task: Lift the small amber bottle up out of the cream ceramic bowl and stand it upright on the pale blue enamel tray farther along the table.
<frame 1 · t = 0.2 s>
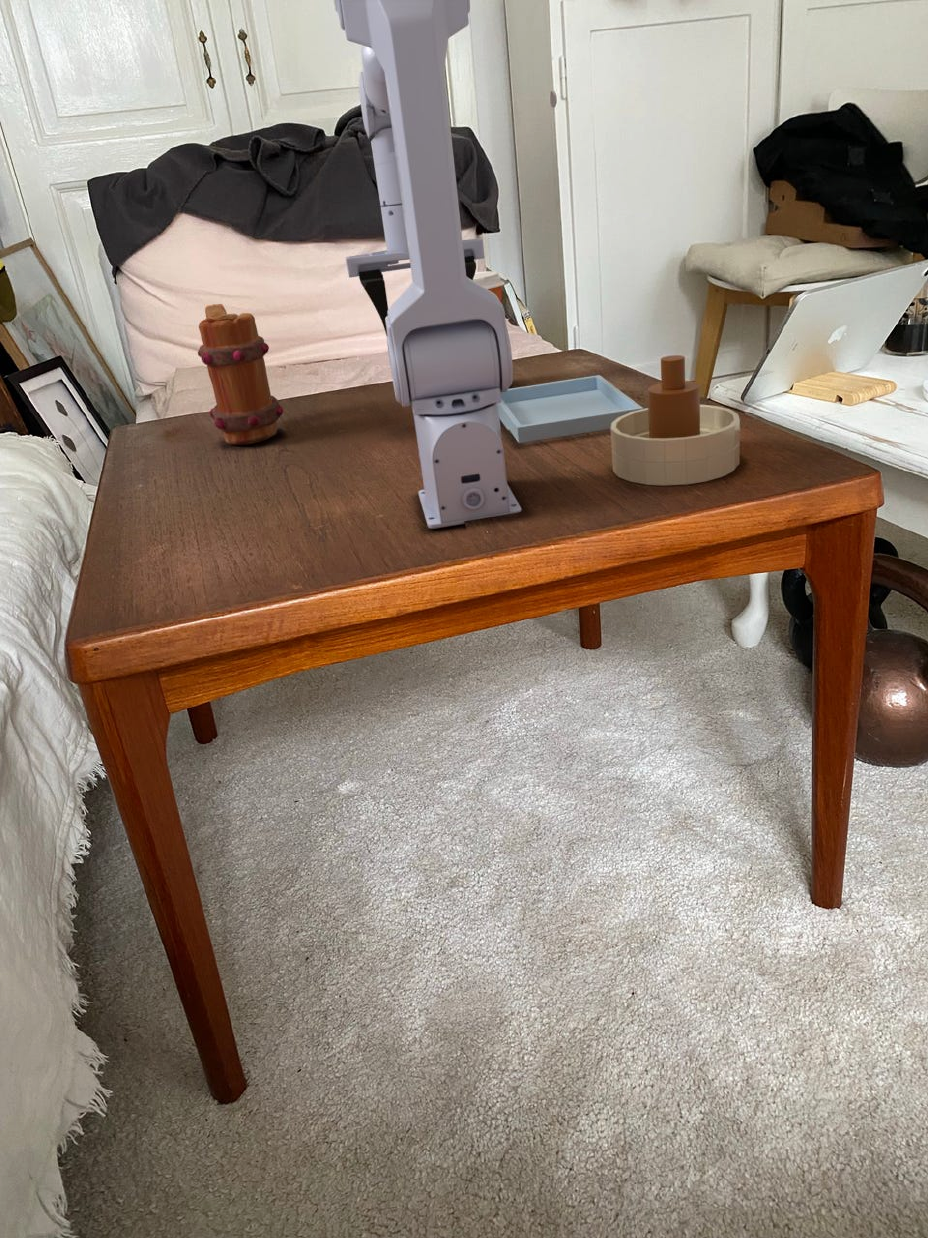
hand: (425, 336, 104), 10 cm above the table, tool pointing down, fingers open, 7 cm apart
tray: (563, 417, 106), on the table
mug: (249, 436, 116), on the table
paper cup: (484, 391, 122), on the table
bottle: (675, 464, 85), resting on bowl
bowl: (675, 470, 85), on the table
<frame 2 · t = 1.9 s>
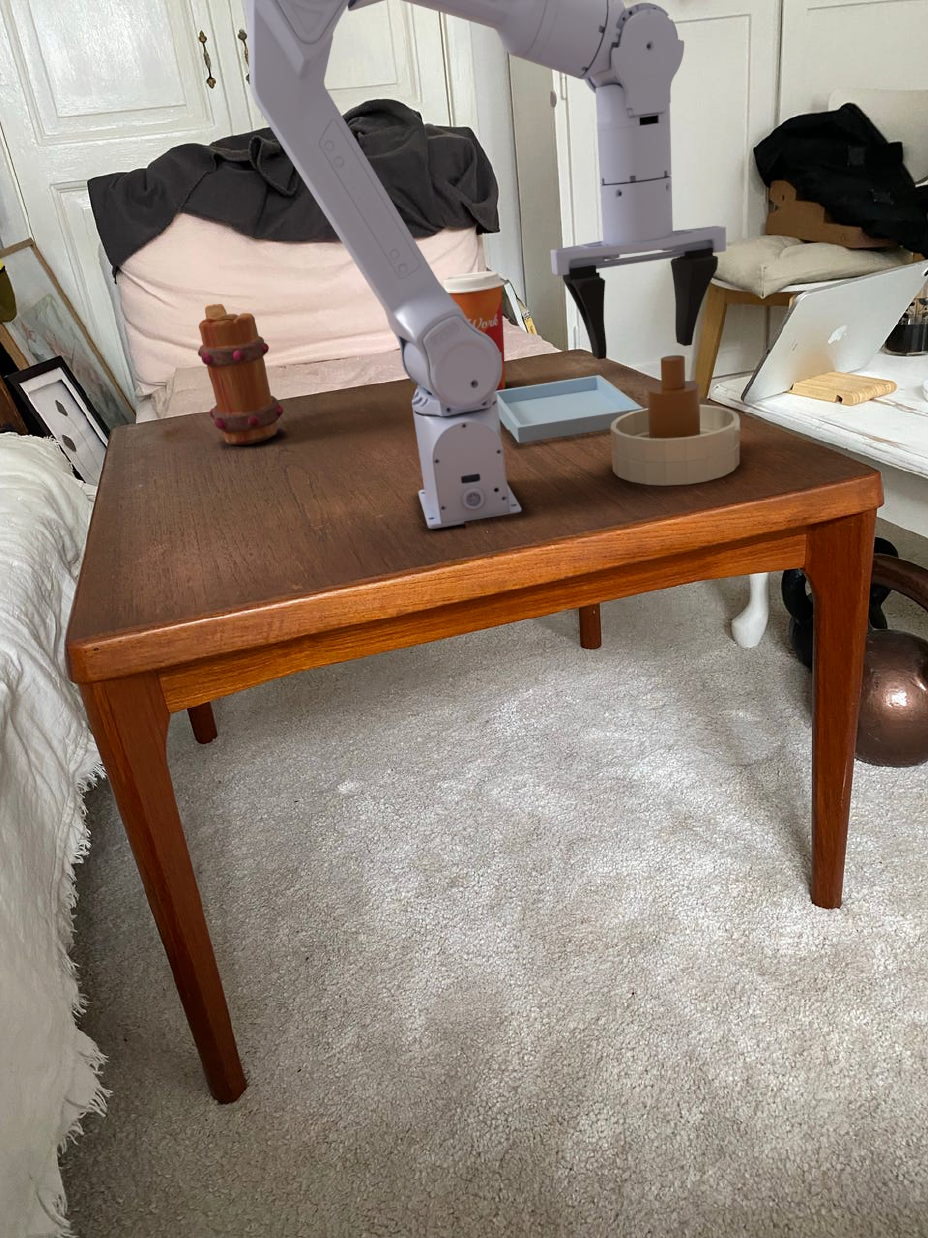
hand: (642, 350, 83), 10 cm above the table, tool pointing down, fingers open, 7 cm apart
nothing on the table moved.
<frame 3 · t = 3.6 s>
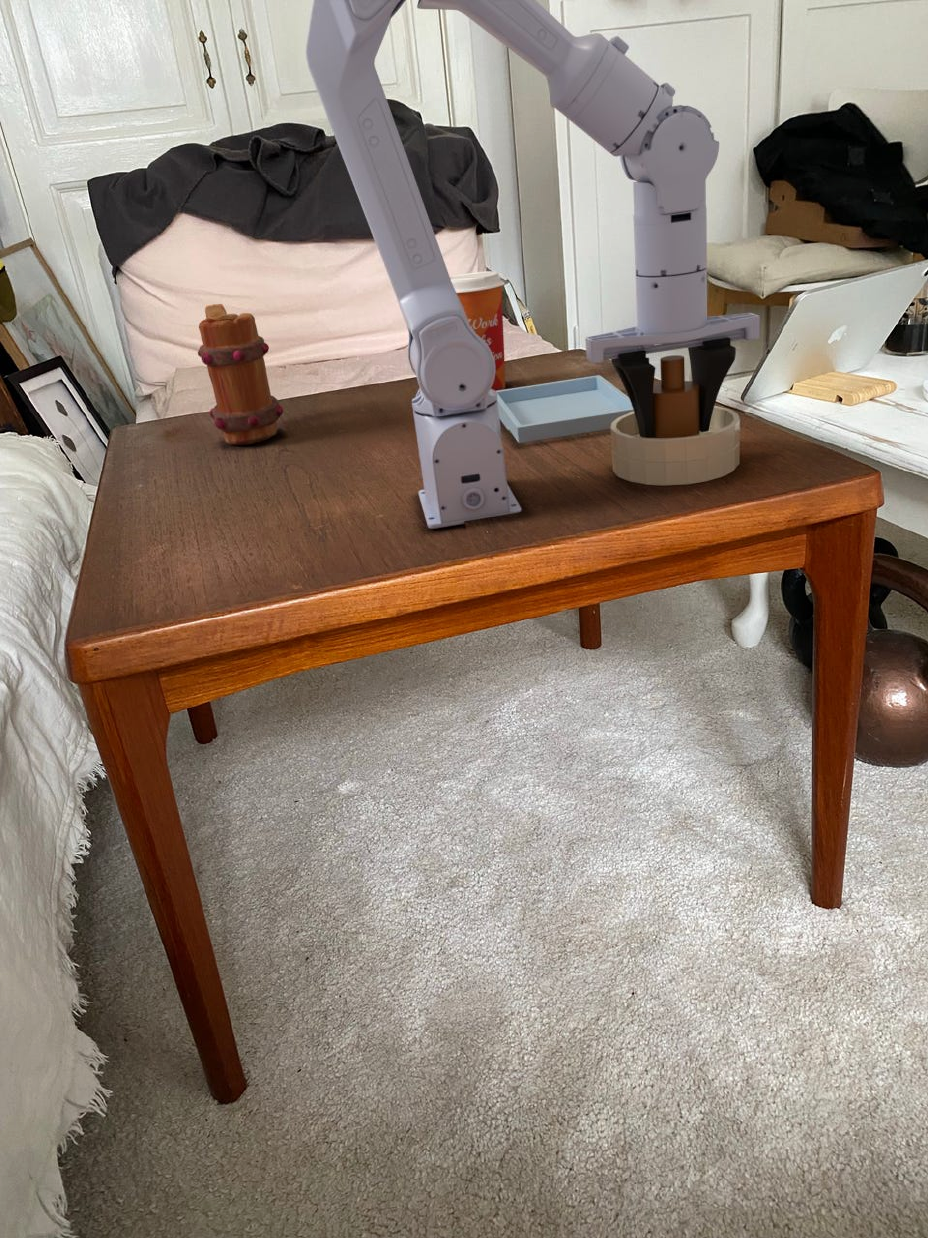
hand: (674, 433, 84), 3 cm above the table, tool pointing down, fingers closed on bottle, 4 cm apart
bottle: (674, 464, 85), resting on bowl, touching gripper
everything else where it was.
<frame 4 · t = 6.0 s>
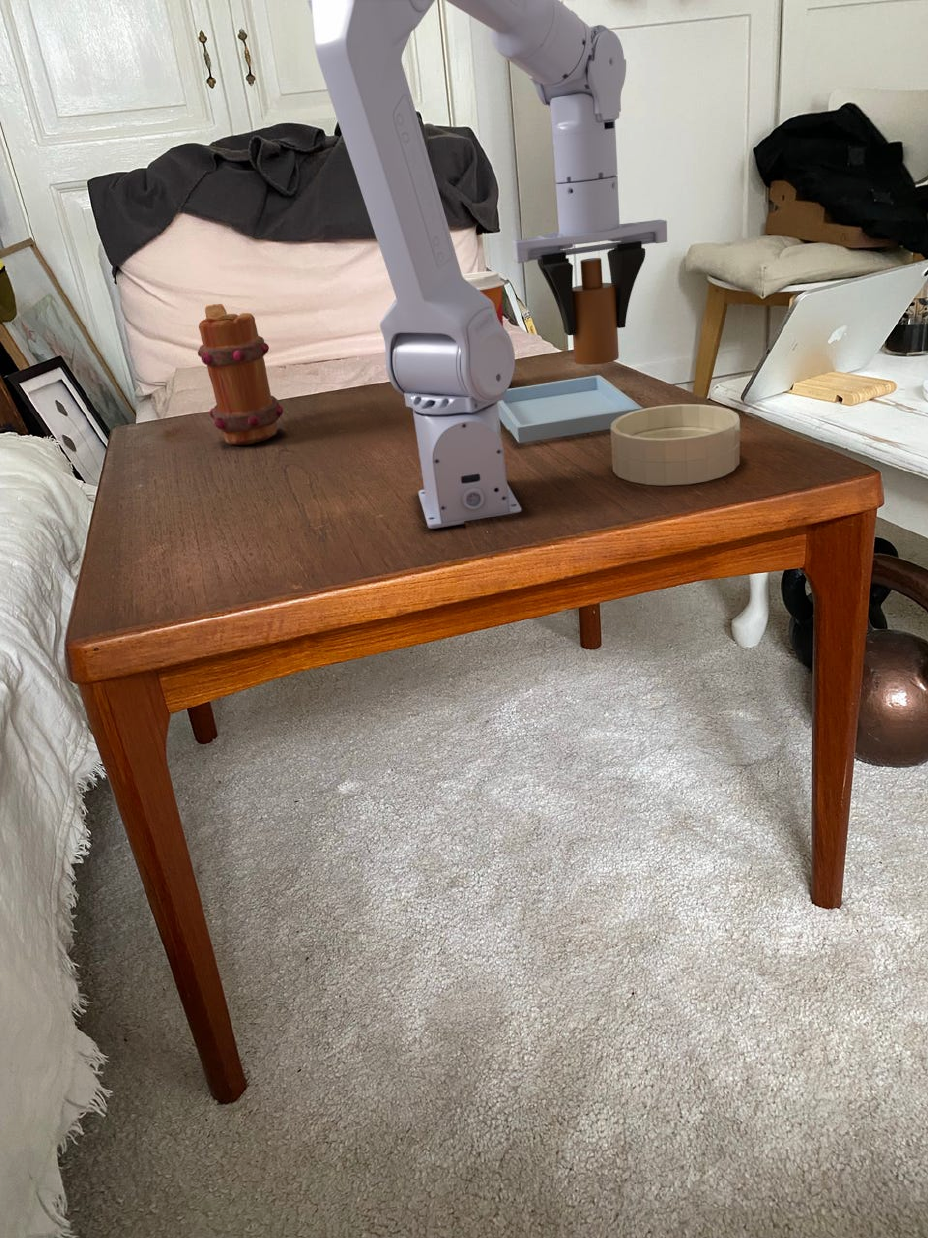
hand: (595, 329, 94), 10 cm above the table, tool pointing down, fingers closed on bottle, 4 cm apart
bottle: (596, 359, 95), point 8 cm above the table, touching gripper
everything else where it was.
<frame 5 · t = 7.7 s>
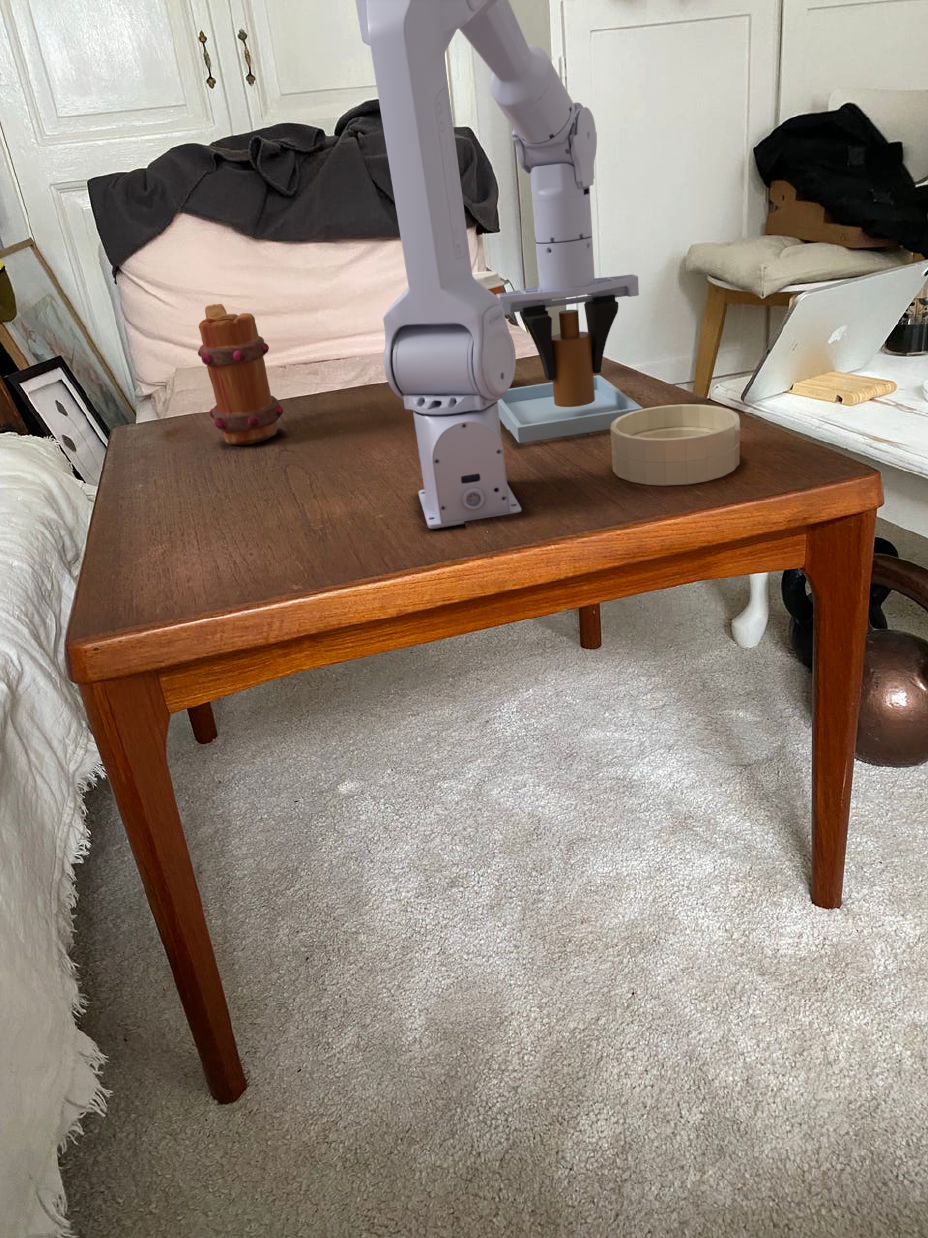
hand: (573, 374, 102), 5 cm above the table, tool pointing down, fingers closed on bottle, 4 cm apart
bottle: (574, 401, 103), point 2 cm above the table, touching gripper
everything else where it was.
when the fingers open (3 cm above the table, at t = 8.6 s): bottle stays where it is, resting on tray.
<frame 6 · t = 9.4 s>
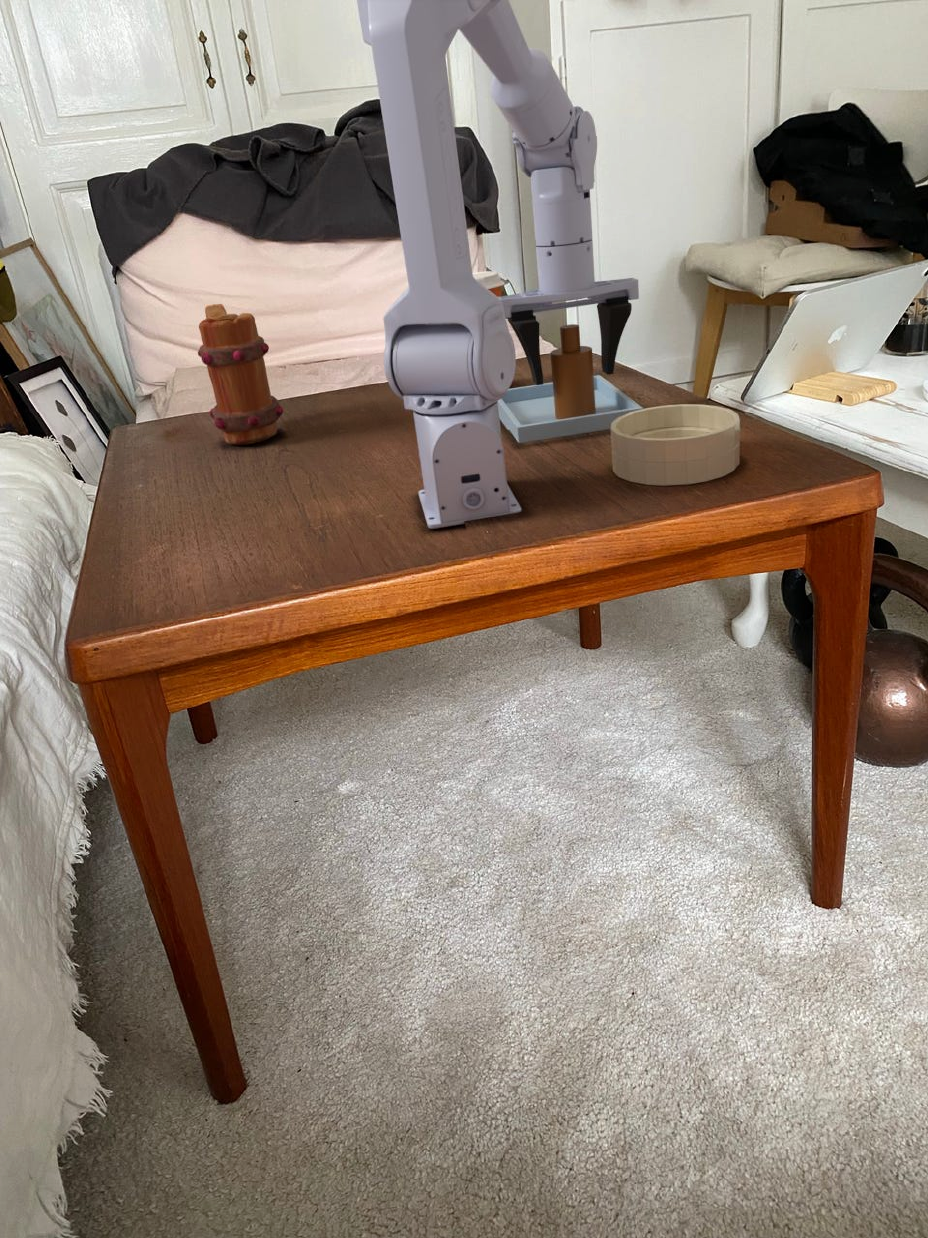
hand: (573, 377, 102), 5 cm above the table, tool pointing down, fingers open, 7 cm apart
bottle: (575, 415, 104), point 1 cm above the table, touching tray
everything else where it was.
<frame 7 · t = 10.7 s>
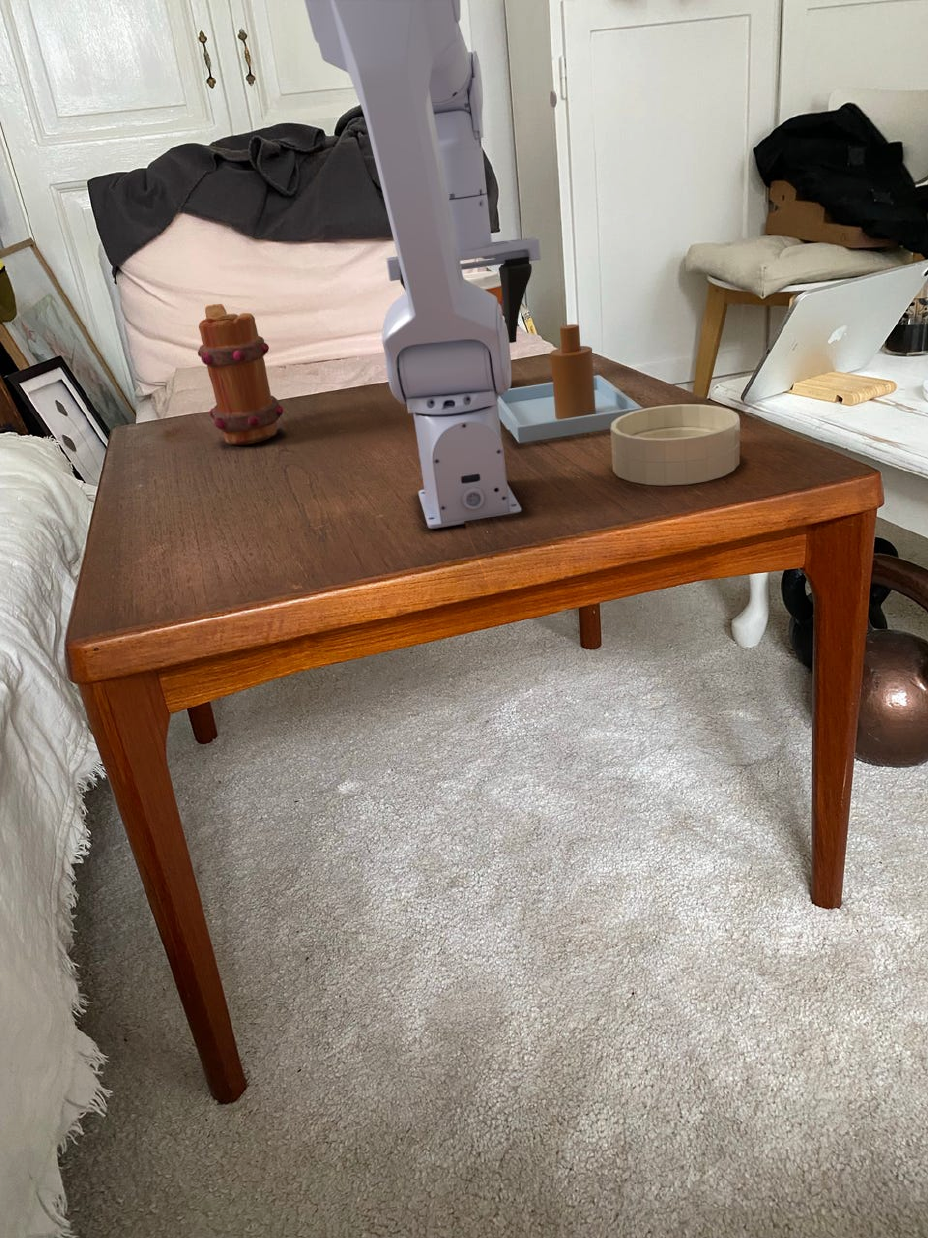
hand: (473, 346, 94), 10 cm above the table, tool pointing down, fingers open, 7 cm apart
nothing on the table moved.
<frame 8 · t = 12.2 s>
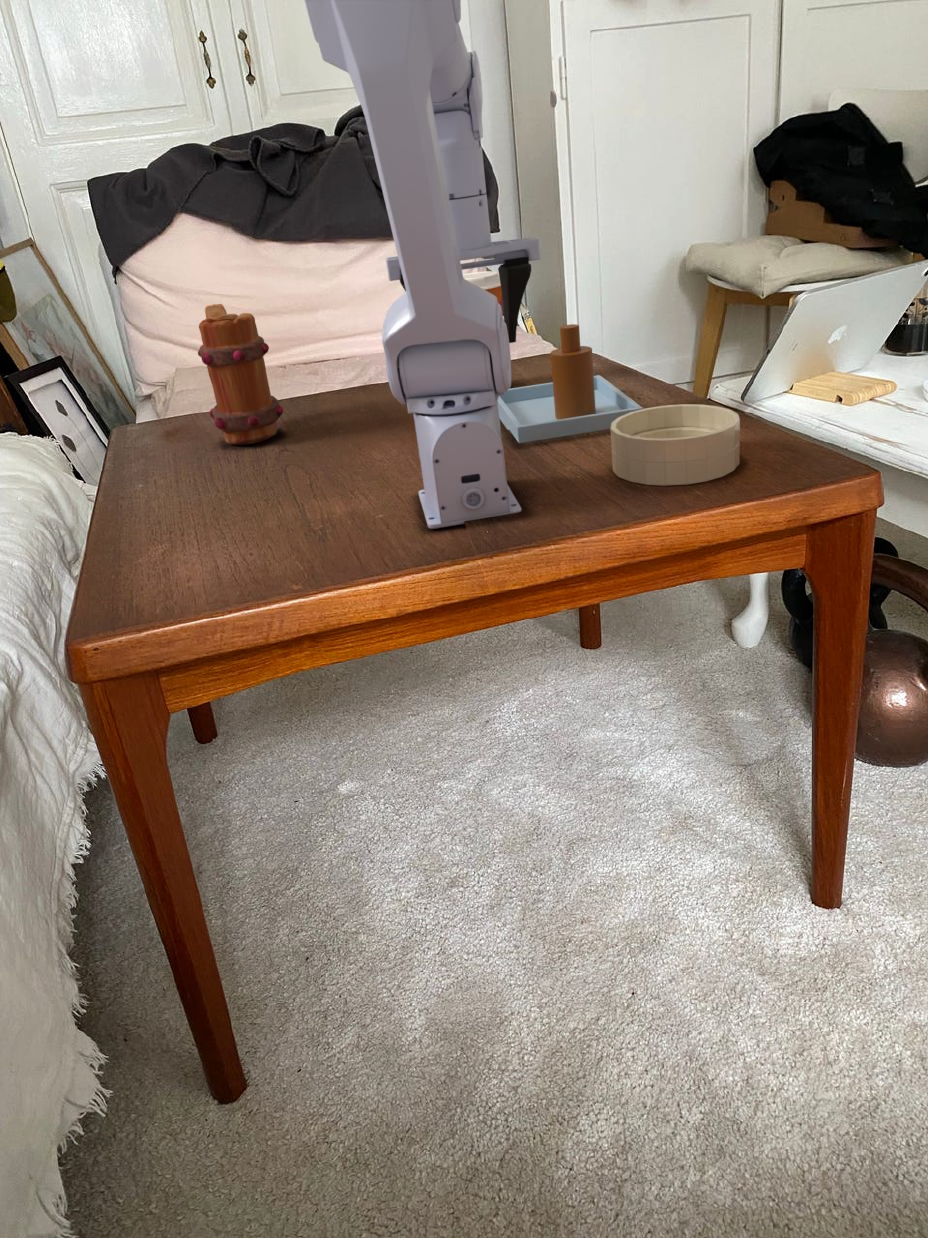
hand: (472, 346, 94), 10 cm above the table, tool pointing down, fingers open, 7 cm apart
nothing on the table moved.
at the end: bottle inside the target area in the tray (2.2 cm from its centre), point 0.6 cm above the tray's base; bottle tilted 0°; the gripper is holding nothing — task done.
